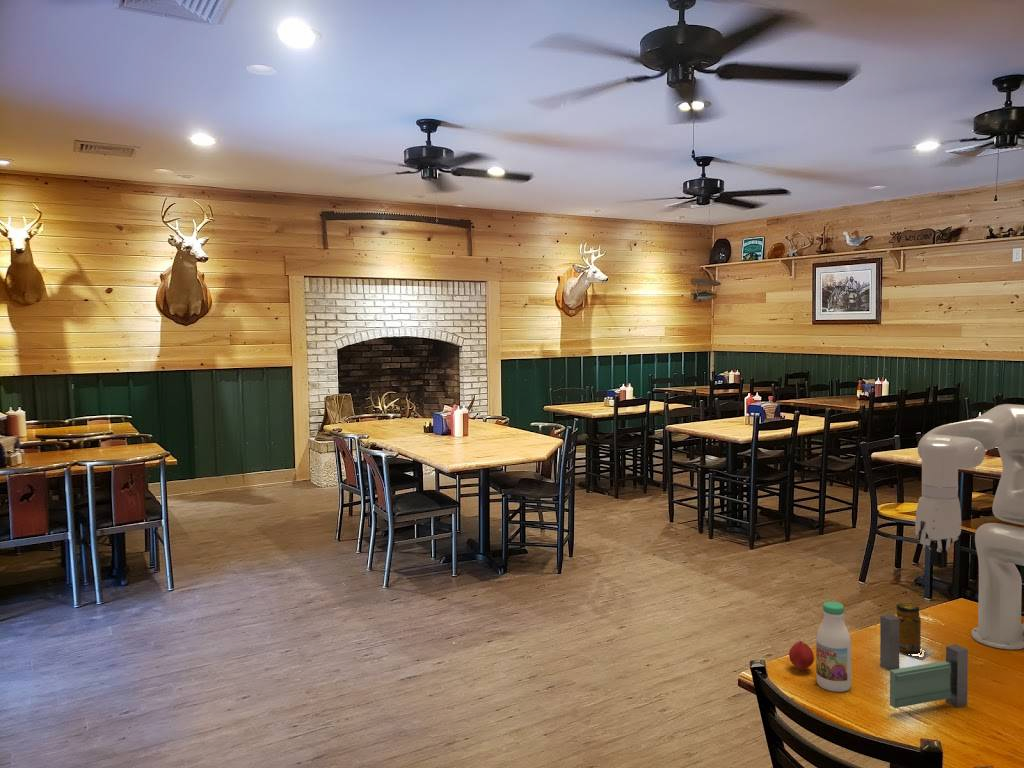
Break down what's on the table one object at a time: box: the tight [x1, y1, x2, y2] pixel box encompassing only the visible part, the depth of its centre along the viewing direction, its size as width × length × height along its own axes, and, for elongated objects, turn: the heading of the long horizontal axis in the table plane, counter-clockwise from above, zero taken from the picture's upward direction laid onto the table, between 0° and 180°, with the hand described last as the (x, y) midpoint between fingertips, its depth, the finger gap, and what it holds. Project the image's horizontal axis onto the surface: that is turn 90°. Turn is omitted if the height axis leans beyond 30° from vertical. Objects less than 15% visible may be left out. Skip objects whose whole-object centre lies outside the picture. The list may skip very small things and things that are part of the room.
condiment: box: [894, 602, 934, 660], centre depth 193 cm, size 7×8×12 cm
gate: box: [889, 660, 951, 709], centre depth 164 cm, size 14×2×8 cm, turn 103°
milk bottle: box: [815, 601, 852, 693], centre depth 176 cm, size 8×8×20 cm
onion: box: [788, 639, 815, 672], centre depth 185 cm, size 6×6×8 cm
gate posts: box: [879, 613, 969, 708], centre depth 175 cm, size 3×22×13 cm, turn 18°
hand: (939, 566), depth 178 cm, fingers closed
